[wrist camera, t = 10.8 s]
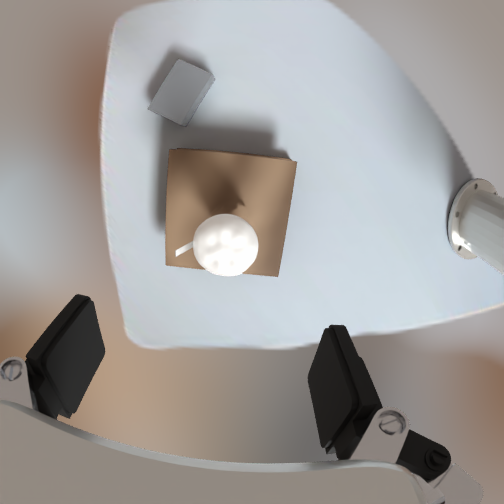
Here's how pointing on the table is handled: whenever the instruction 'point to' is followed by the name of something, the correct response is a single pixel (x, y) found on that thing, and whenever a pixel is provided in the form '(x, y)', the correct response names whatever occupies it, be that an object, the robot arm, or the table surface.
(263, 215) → the stand
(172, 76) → the block
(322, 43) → the table surface
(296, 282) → the table surface
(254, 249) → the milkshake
